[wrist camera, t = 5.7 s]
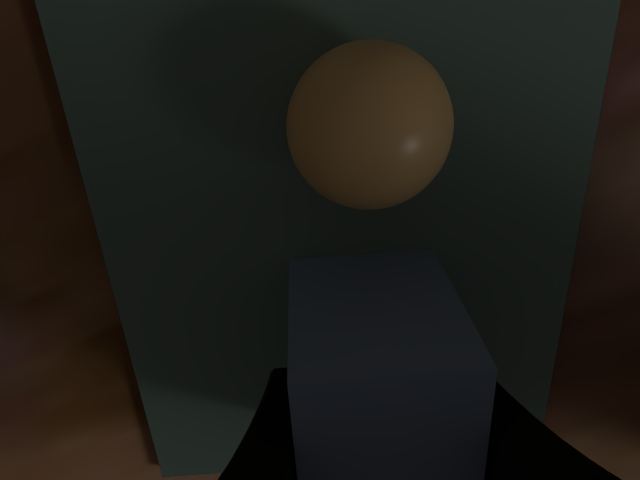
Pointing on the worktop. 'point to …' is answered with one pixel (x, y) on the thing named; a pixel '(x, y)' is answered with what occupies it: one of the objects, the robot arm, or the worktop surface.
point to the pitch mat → (305, 202)
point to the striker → (385, 371)
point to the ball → (370, 124)
